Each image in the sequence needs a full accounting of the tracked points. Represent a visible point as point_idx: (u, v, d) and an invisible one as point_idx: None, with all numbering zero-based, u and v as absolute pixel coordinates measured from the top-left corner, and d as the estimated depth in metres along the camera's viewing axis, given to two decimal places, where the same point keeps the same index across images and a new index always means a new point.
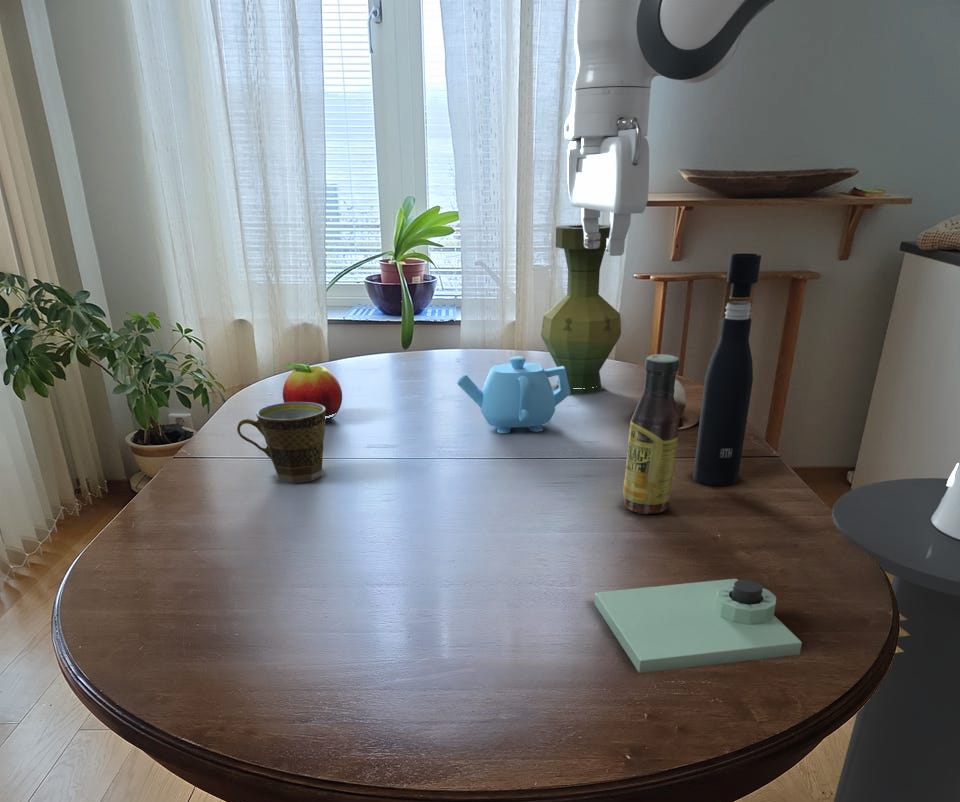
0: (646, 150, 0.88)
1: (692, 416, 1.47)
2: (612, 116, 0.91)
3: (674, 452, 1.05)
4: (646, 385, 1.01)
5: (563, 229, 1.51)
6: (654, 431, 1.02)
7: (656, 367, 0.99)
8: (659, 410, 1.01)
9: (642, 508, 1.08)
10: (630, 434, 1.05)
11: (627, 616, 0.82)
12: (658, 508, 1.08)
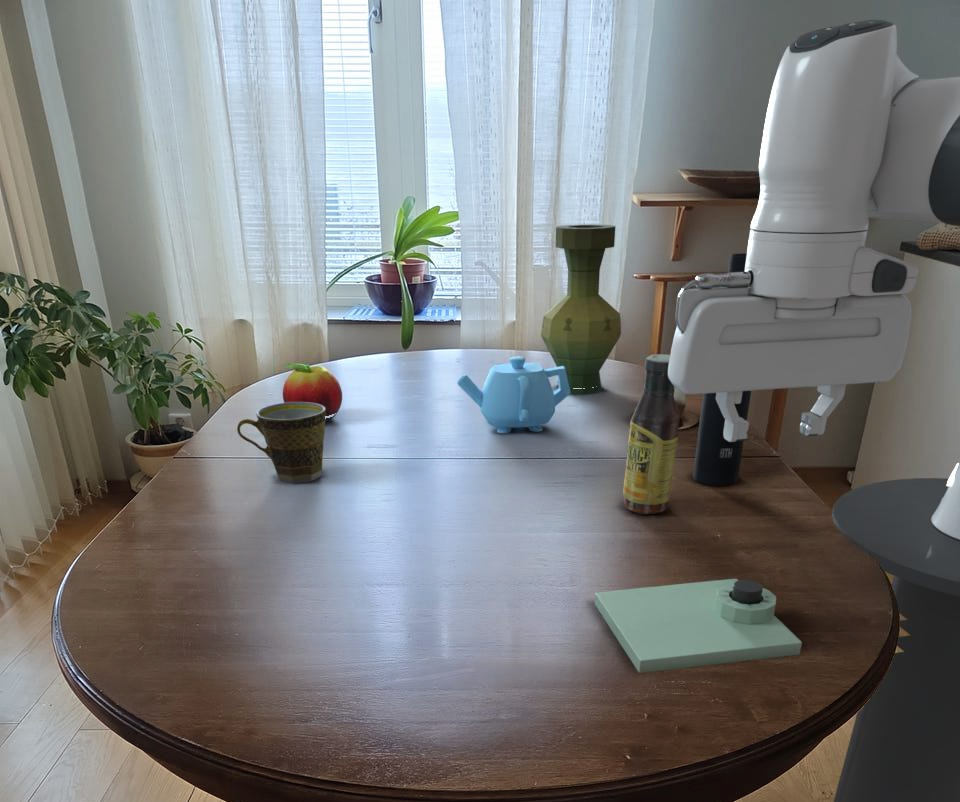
0: (694, 318, 0.65)
1: (692, 416, 1.47)
2: (746, 267, 0.66)
3: (674, 452, 1.05)
4: (646, 385, 1.01)
5: (563, 229, 1.51)
6: (654, 431, 1.02)
7: (656, 367, 0.99)
8: (659, 410, 1.01)
9: (642, 508, 1.08)
10: (630, 434, 1.05)
11: (627, 616, 0.82)
12: (658, 508, 1.08)
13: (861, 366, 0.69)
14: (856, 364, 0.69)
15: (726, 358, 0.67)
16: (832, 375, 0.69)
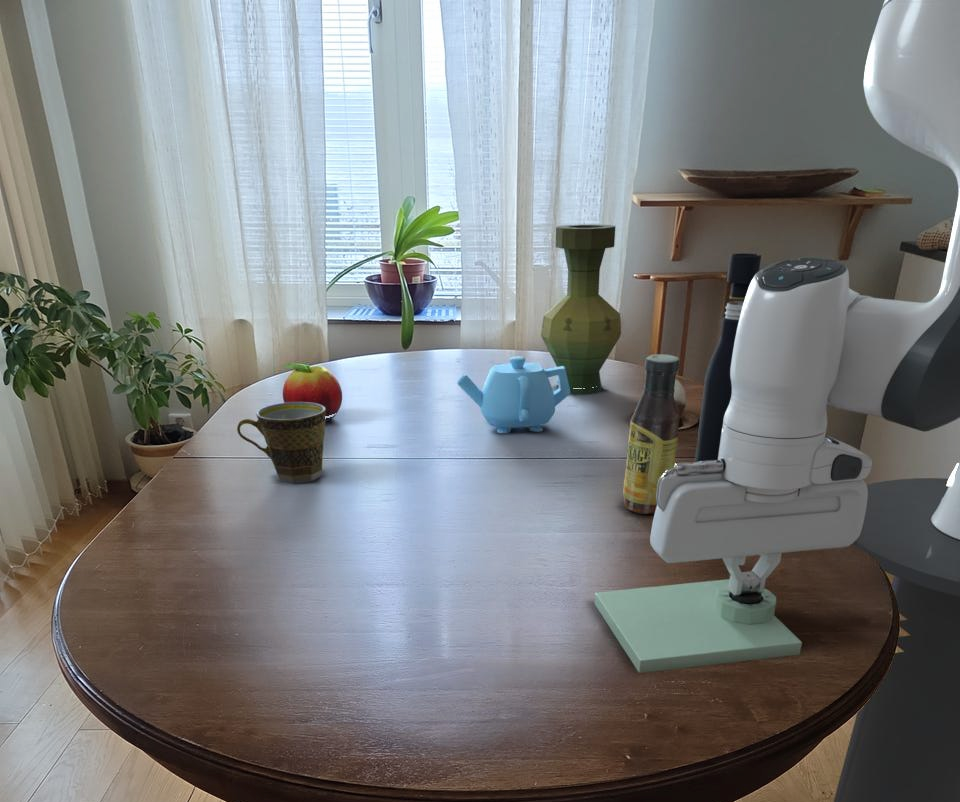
0: (673, 501, 0.73)
1: (692, 416, 1.47)
2: (719, 453, 0.74)
3: (674, 452, 1.05)
4: (646, 385, 1.01)
5: (563, 229, 1.51)
6: (654, 431, 1.02)
7: (656, 367, 0.99)
8: (659, 410, 1.01)
9: (642, 508, 1.08)
10: (630, 434, 1.05)
11: (627, 616, 0.82)
12: None
13: (823, 535, 0.77)
14: (819, 534, 0.77)
15: (701, 533, 0.75)
16: (797, 544, 0.77)
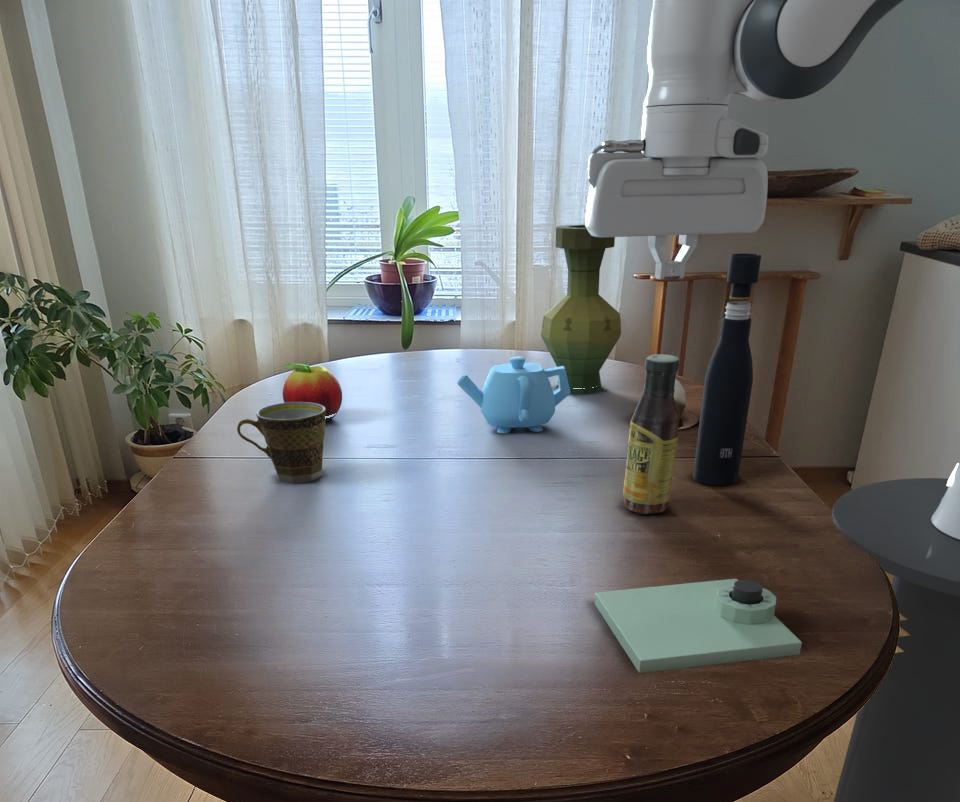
0: (601, 174, 0.87)
1: (692, 416, 1.47)
2: (641, 137, 0.88)
3: (674, 452, 1.05)
4: (646, 385, 1.01)
5: (563, 229, 1.51)
6: (654, 431, 1.02)
7: (656, 367, 0.99)
8: (659, 410, 1.01)
9: (642, 508, 1.08)
10: (630, 434, 1.05)
11: (627, 616, 0.82)
12: (658, 508, 1.08)
13: (732, 217, 0.91)
14: (728, 216, 0.91)
15: (627, 207, 0.88)
16: (710, 225, 0.91)
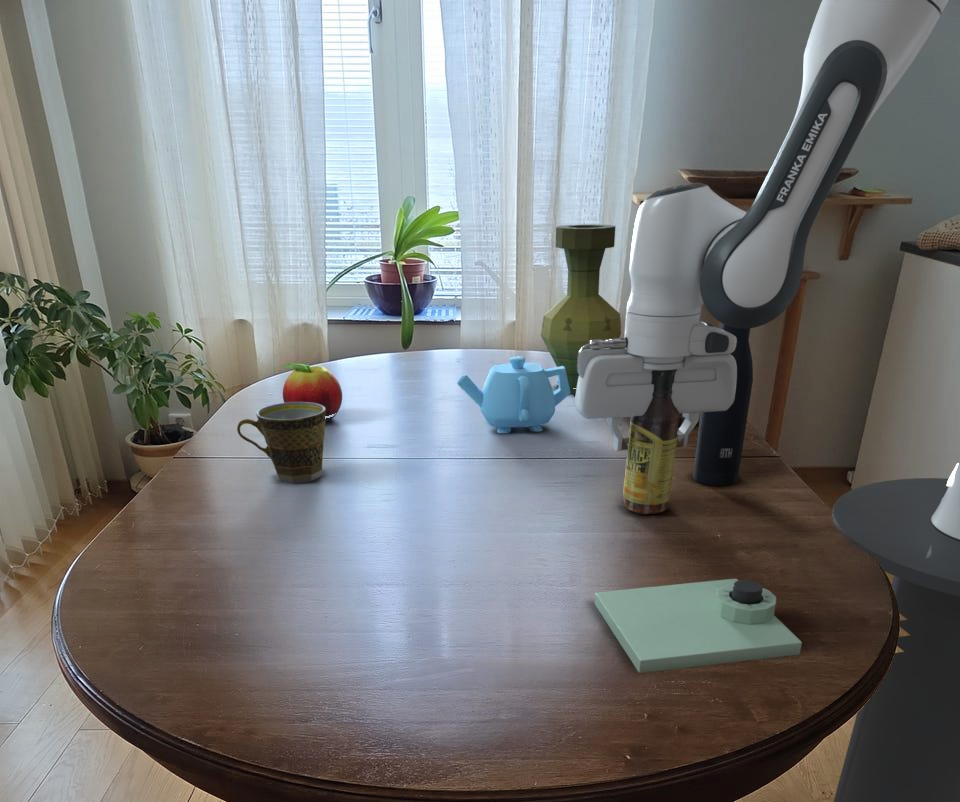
0: (588, 369, 0.98)
1: None
2: (624, 334, 0.99)
3: (674, 452, 1.05)
4: None
5: (563, 229, 1.51)
6: (653, 431, 1.02)
7: None
8: (658, 410, 1.01)
9: (642, 508, 1.08)
10: (630, 434, 1.05)
11: (627, 616, 0.82)
12: (658, 508, 1.08)
13: (705, 400, 1.02)
14: (702, 399, 1.02)
15: (611, 395, 1.00)
16: (685, 406, 1.02)
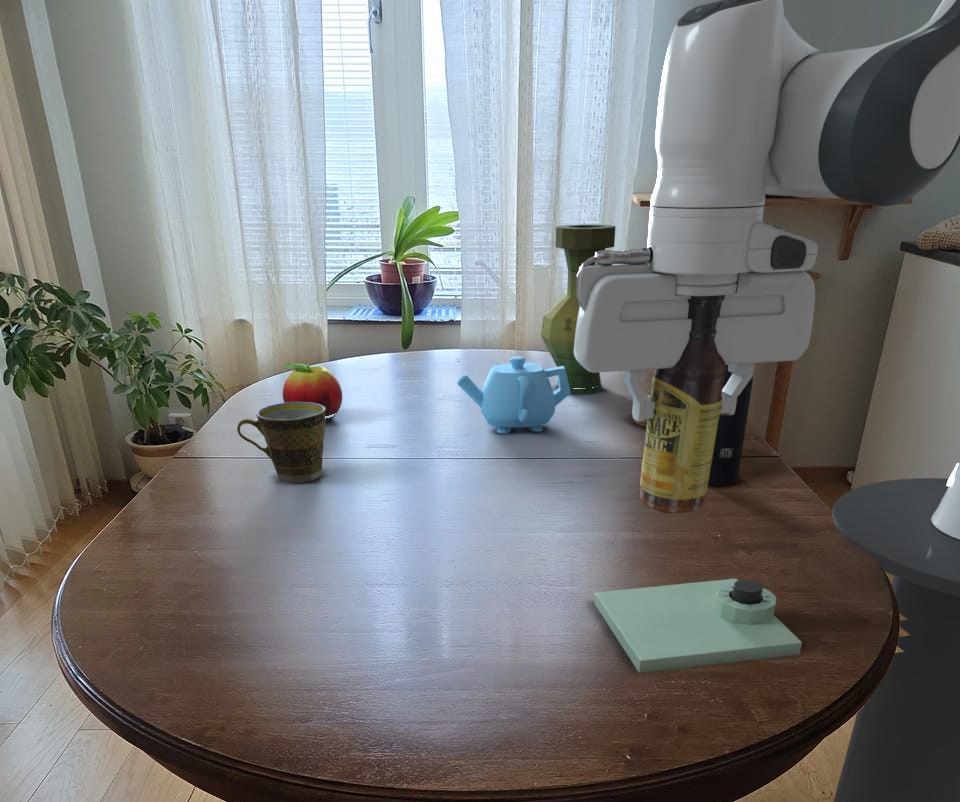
0: (593, 295, 0.65)
1: None
2: (647, 244, 0.66)
3: (716, 423, 0.72)
4: None
5: (563, 229, 1.51)
6: (688, 389, 0.69)
7: None
8: (696, 358, 0.68)
9: (667, 504, 0.75)
10: (652, 396, 0.72)
11: (627, 616, 0.82)
12: (691, 504, 0.75)
13: (767, 344, 0.69)
14: (762, 342, 0.69)
15: (628, 335, 0.67)
16: (738, 353, 0.69)
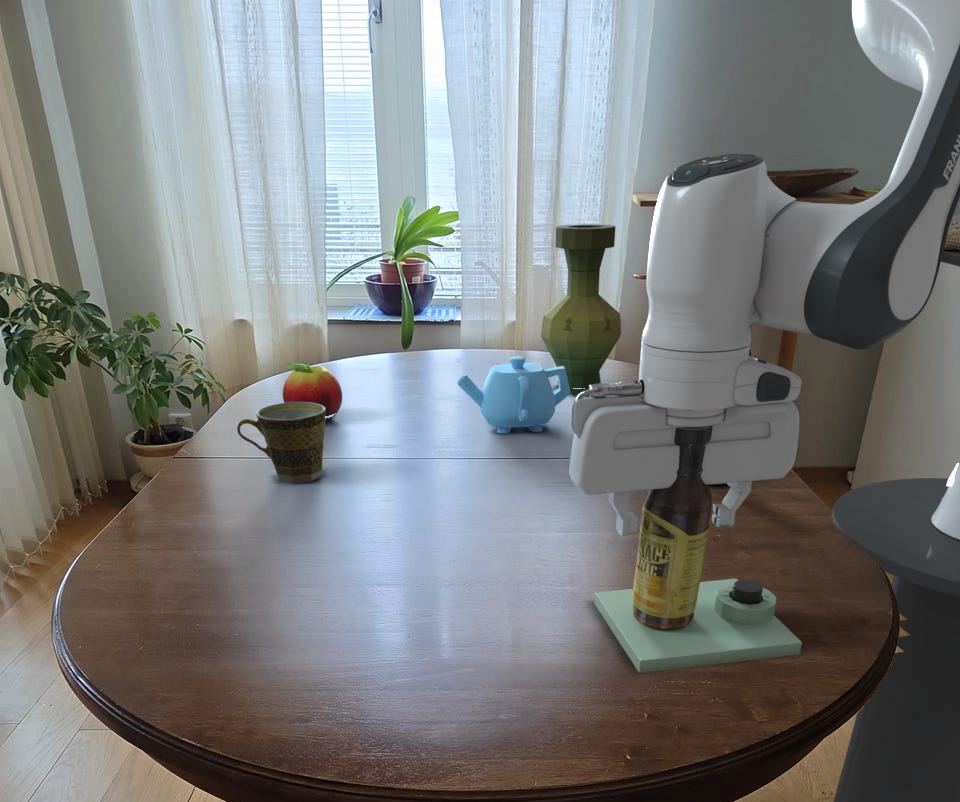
0: (588, 426, 0.68)
1: None
2: (639, 375, 0.69)
3: (703, 549, 0.75)
4: None
5: (563, 229, 1.51)
6: (676, 523, 0.72)
7: (681, 436, 0.69)
8: (683, 494, 0.72)
9: (658, 622, 0.78)
10: (642, 524, 0.75)
11: (627, 616, 0.82)
12: (681, 622, 0.78)
13: (754, 465, 0.72)
14: (749, 464, 0.72)
15: (621, 461, 0.70)
16: (726, 474, 0.72)
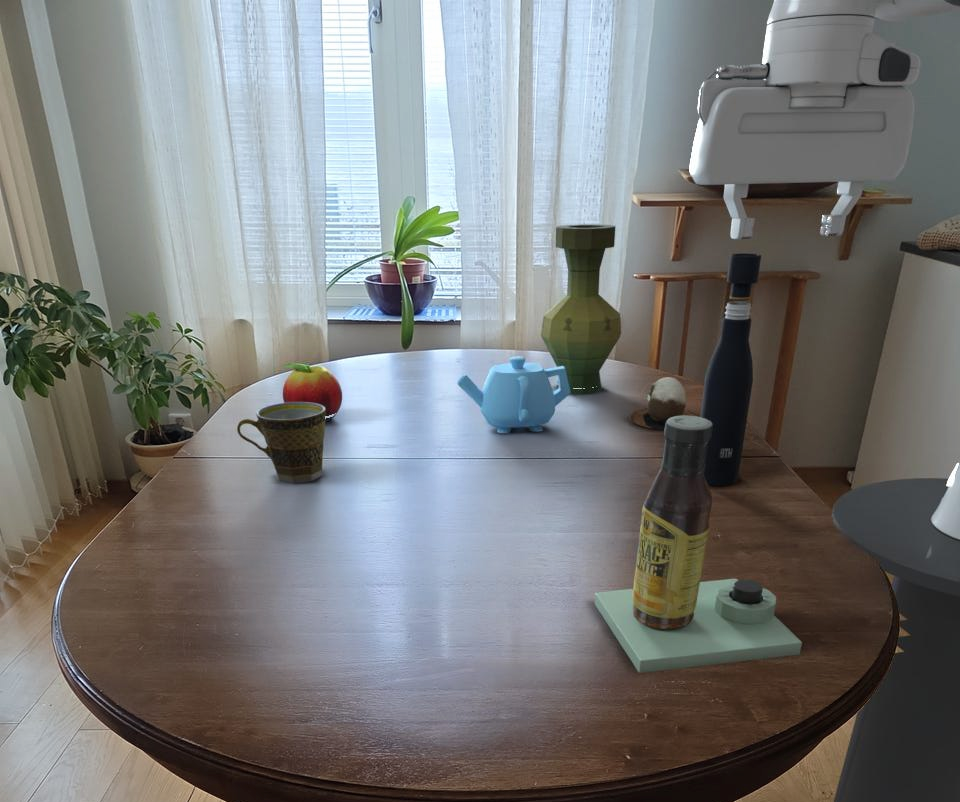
0: (715, 106, 0.71)
1: None
2: (763, 62, 0.72)
3: (703, 549, 0.75)
4: (666, 459, 0.72)
5: (563, 229, 1.51)
6: (676, 523, 0.72)
7: (681, 436, 0.69)
8: (683, 494, 0.72)
9: (658, 622, 0.78)
10: (642, 524, 0.75)
11: (627, 616, 0.82)
12: (681, 622, 0.78)
13: (868, 161, 0.75)
14: (864, 159, 0.75)
15: (744, 147, 0.73)
16: (841, 170, 0.75)
